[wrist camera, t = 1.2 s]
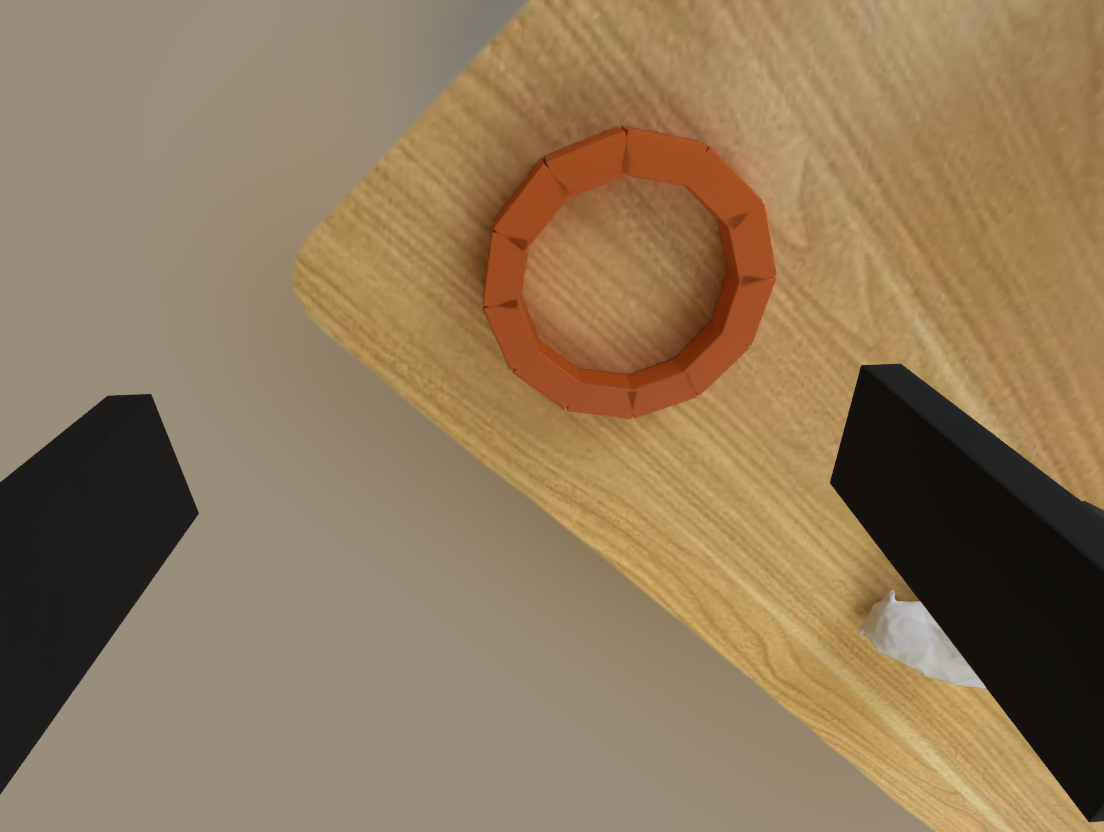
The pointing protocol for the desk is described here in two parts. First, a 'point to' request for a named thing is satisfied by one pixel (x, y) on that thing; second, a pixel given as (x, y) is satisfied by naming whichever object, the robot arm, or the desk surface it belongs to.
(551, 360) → the ring
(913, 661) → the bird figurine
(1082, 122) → the desk surface
